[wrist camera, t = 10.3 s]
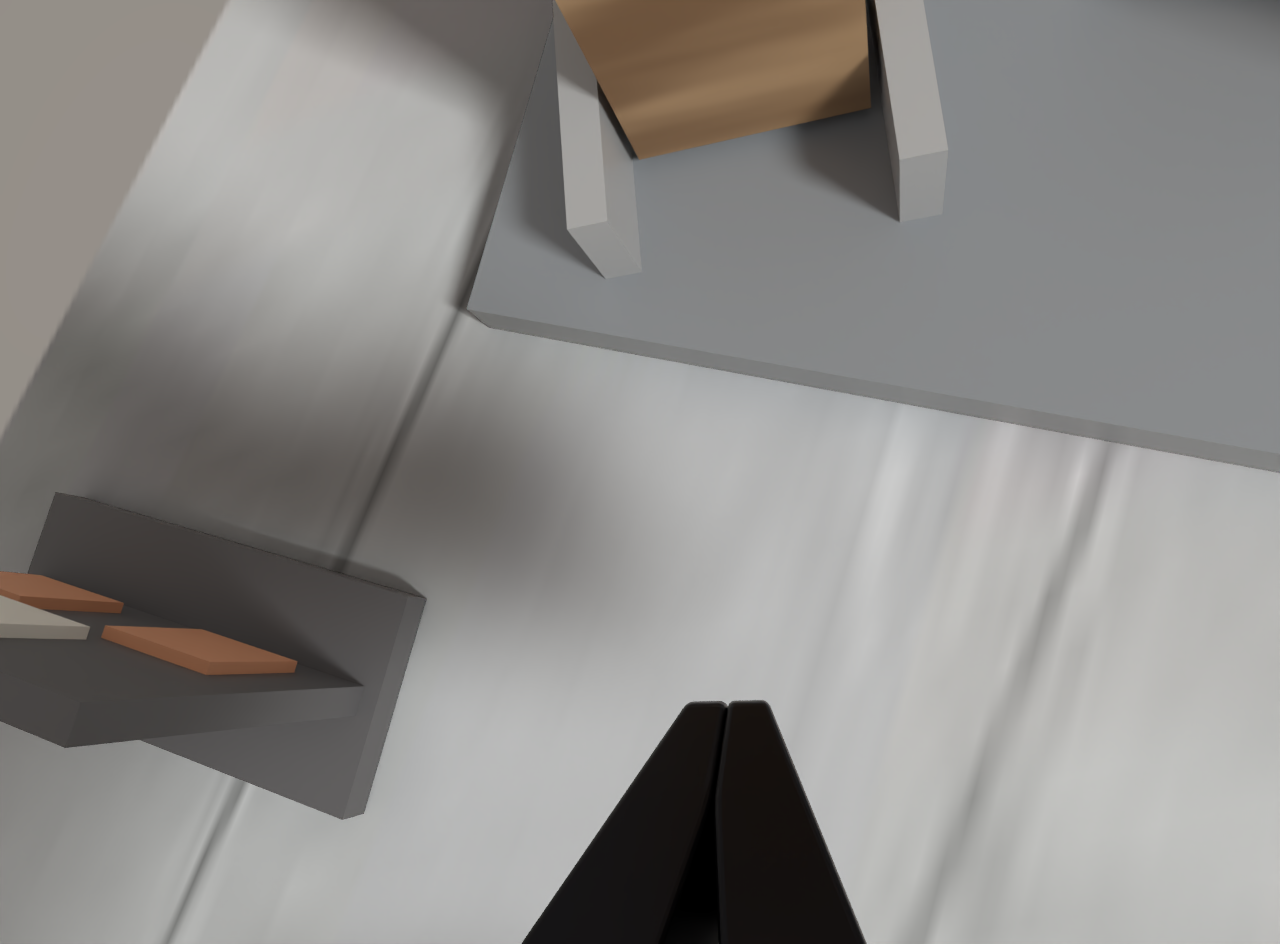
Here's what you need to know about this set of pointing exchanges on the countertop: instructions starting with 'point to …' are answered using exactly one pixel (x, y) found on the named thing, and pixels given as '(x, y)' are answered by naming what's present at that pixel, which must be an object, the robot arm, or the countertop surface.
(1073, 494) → the countertop surface
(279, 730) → the pattern card
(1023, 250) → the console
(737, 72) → the plunger
